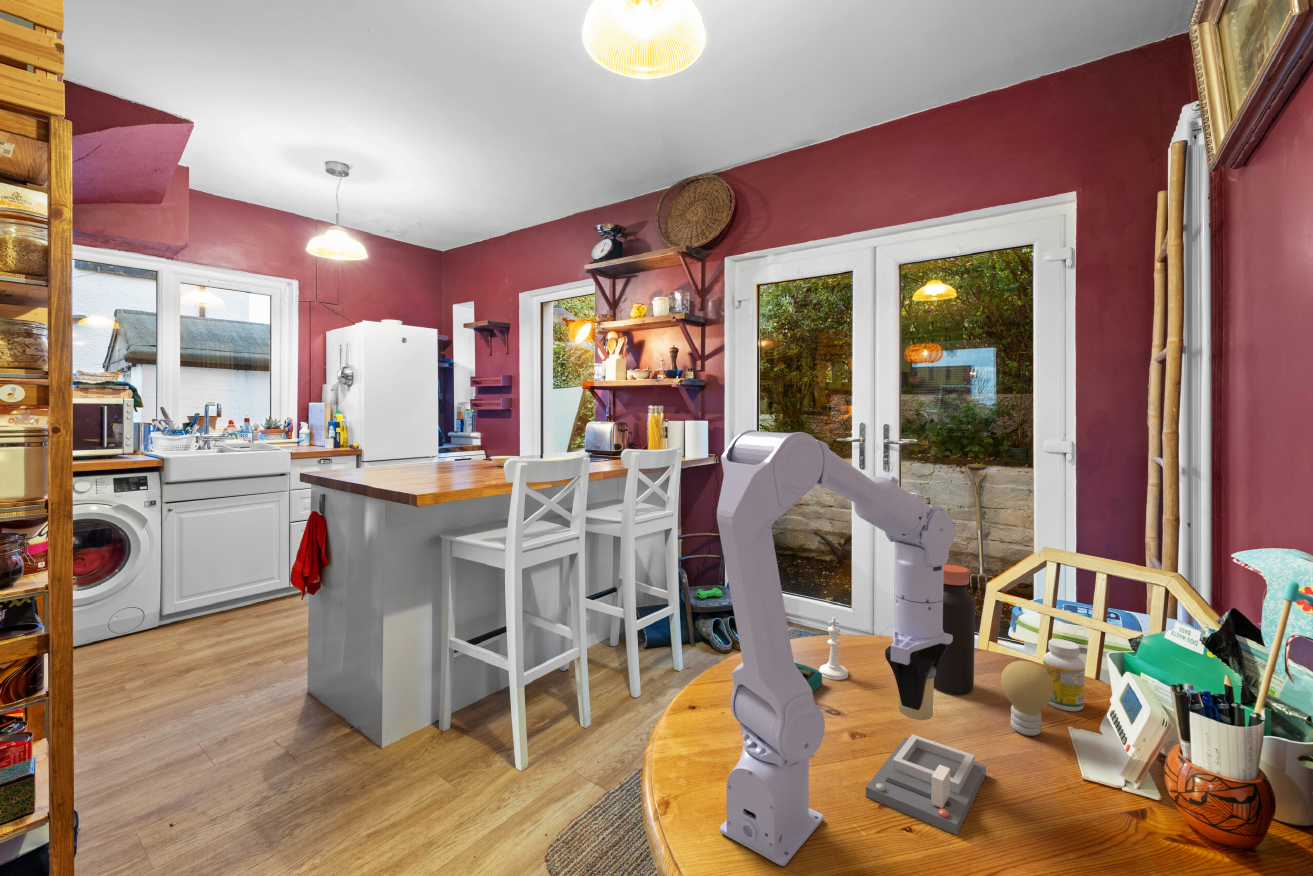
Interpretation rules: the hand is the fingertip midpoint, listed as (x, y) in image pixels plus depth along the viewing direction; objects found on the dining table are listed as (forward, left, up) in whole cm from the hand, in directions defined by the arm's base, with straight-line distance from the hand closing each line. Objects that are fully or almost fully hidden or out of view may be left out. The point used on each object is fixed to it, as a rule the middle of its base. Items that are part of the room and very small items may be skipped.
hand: (916, 699), depth 76 cm
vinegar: (+27, +3, -9) cm, 28 cm away
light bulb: (+19, -9, -9) cm, 23 cm away
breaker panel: (-3, -2, -9) cm, 10 cm away
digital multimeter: (+6, +23, -10) cm, 25 cm away
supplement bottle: (+32, -12, -9) cm, 35 cm away
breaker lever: (-7, -5, -7) cm, 11 cm away
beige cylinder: (0, 0, -2) cm, 2 cm away
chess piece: (+19, +20, -9) cm, 29 cm away
